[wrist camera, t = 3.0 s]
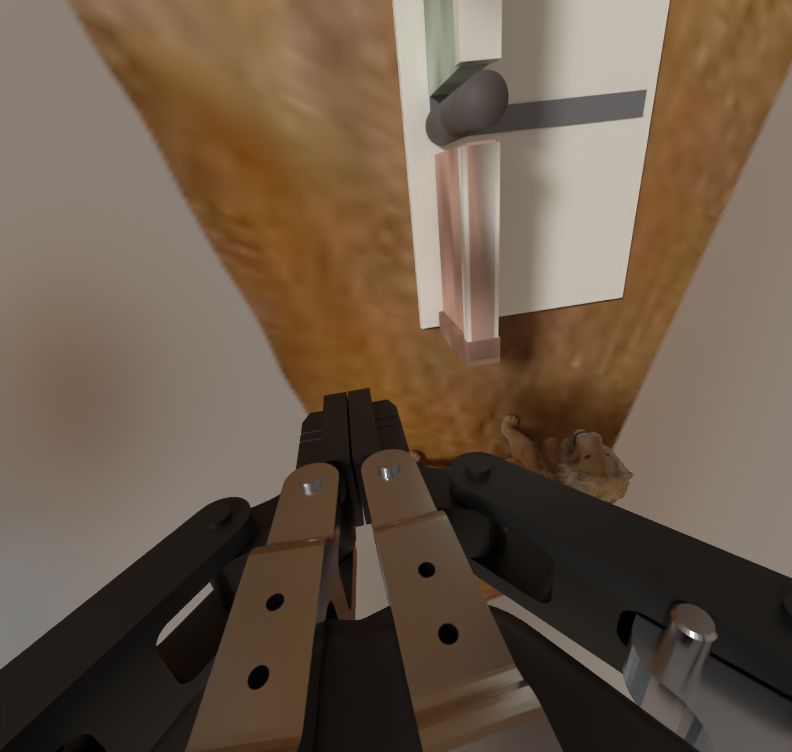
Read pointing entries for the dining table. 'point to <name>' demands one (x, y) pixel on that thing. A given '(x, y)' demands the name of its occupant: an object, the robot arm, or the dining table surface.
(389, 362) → the dining table surface
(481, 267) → the fence panel
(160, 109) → the dining table surface
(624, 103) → the card
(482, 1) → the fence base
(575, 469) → the lion figurine
